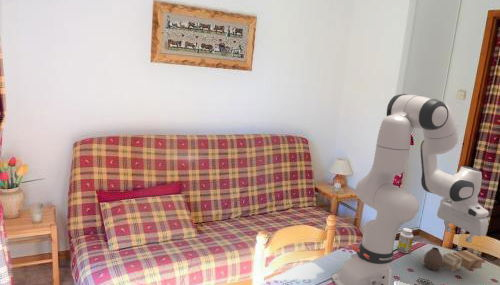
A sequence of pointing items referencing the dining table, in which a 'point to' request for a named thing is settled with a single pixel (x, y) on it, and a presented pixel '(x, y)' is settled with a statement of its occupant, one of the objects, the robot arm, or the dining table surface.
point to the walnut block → (469, 259)
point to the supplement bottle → (405, 240)
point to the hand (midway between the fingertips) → (457, 236)
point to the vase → (433, 259)
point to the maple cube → (451, 261)
